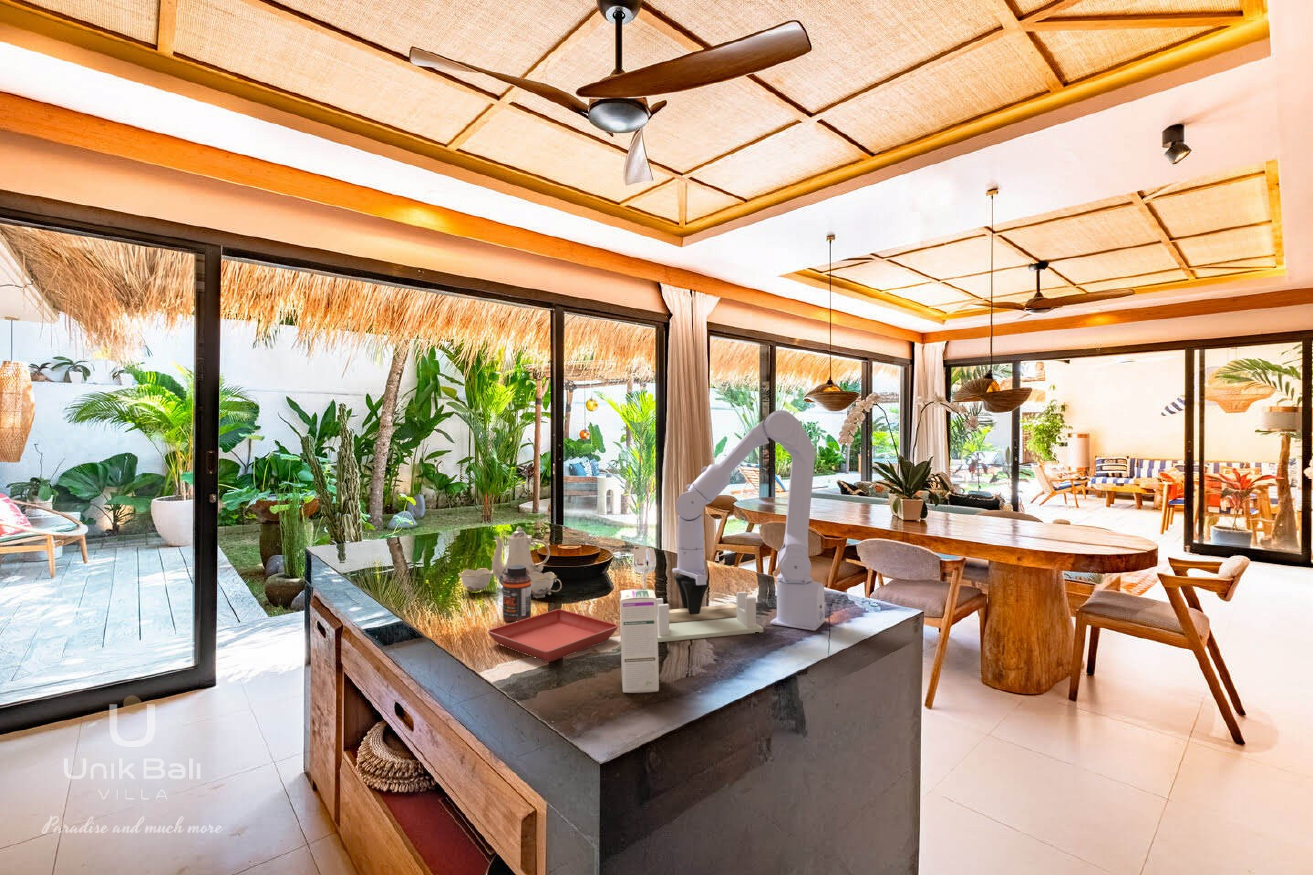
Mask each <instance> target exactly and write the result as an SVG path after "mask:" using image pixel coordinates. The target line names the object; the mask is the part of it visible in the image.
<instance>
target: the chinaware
mask: <svg viewBox="0 0 1313 875" xmlns="http://www.w3.org/2000/svg"><path fill="white" fill-rule="evenodd" d="M515 530H516V531H513V532H512V533H511V535H509V536H507V537H506V539H507V543H508V557H507V560H506V564H505V563H504V564H503V562H502V556H503V547H504V545H503V540H502V538H501V537H500V536H498V535H494V536H493V538H494V539H495V540H496V547H495V551H494V554H493V557H492V560H491V570H489V569H488V568H486V567H482V568H478V569H475V570H474V569H470V568H469V569H468V568H467V569H464V570H463V571H462V572H458V573H457V576H459V577H460V579H461V582H462V586H464V588H466V590H468V591H469V592H471V591H480V590H482V591H483V590H484V589H486V587H488V585H489V584H490V582H491V578H492V575H493V576H494V577H495V578H496V579H497V580H498V581H499V582H498V583H499V584H500V585H501V586H502V587H503V579H504V578H505V577H506V576H507V574H508V573H507V568H508V567H509V566H512V565H525V566H526V574H527V575H528V576H529V577H530V578H531V595H532V598H534V597H535V598H536V599H538V598H539V599H540V598H545V597H546V596H545V595H546V594H547V595H549V596H551V595H552V592H553V593H558V592H559V591H561V590H562V587H563V586H562V582H561V580H560V579H559V578H557V577H558V575H557V574H555V573H554V572H552V571H548V572H544V573H543V572H542V571H543V569H544V564H545V563H547V561H548V560H549V558H550V554H551V551H550V547H549V545H548V544H547V543H546V541H543V540H540V539H532V537H533V535H531V534H530V535H529V534H527V533H526V532H525V531H524V530H523V528H522V527H521V526H520V525H518V526H517V528H516V529H515ZM531 539H532V540H531ZM536 543H540V544H542V545H543V546H544V548H546V551H547V552H546V554H547V555H546V557H545V559H544V560H543V561H542V562H539V563H535V564H534V561H533V558H532V555H531V547H532V548H536V546H537V544H536ZM557 581H558V583H559V585H560V586H559V589H557V590H554V589H553V590H552V587H553V585H554V583H557Z"/></svg>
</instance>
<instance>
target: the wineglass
mask: <svg viewBox="0 0 1313 875" xmlns="http://www.w3.org/2000/svg"><path fill="white" fill-rule="evenodd" d="M631 560H632V568H633V570H634V571H635V572H636V573H638V574H640V575H642V578H641V579H642V583H643V584H642V585H643V589H646V584H647V575H649V574H652V572H653V571H654V570H656V566H657V557H656V552H655V549H654V547H653V546H647V545H646V546H645V545H644V546H643V545H641V546H635V547H634V549H633V554H632V558H631Z"/></svg>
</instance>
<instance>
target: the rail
mask: <svg viewBox="0 0 1313 875" xmlns="http://www.w3.org/2000/svg"><path fill="white" fill-rule="evenodd" d="M727 618H737V604H736V603H734V604H722V605H711V606H710V605H709V606H708V605H707V606H701V609H700V613H699V614H692V615H690V614H689V611H688V608H675V609H674V608H673V609H669V624H671V623H682V622H693V621H704V620H716V619H727Z"/></svg>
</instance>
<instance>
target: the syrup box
mask: <svg viewBox="0 0 1313 875" xmlns="http://www.w3.org/2000/svg"><path fill="white" fill-rule="evenodd" d="M656 598H657V597H656V593H655V589H653V588H645V589H644V588H632V589H625V590H620V591H619V616H620V617H619V618H620V619H619V621H620V623H619V624H620V626H619V627H620V654H621V656H620V658H621V663H620V664H621V684H622V686H621V687H622V692H623V693H624V694H625V693H630V694H631V693H632V694H633V693H634V694H635V693H636V694H637V693H638V694H639V693H654V692H655V693H656V692H659V690H660V681H659V680H660V679H659V678H660V677H659V676H660V675H659V671H660V670H659V663H660V662H659V642H658V630H657V601H656Z"/></svg>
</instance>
